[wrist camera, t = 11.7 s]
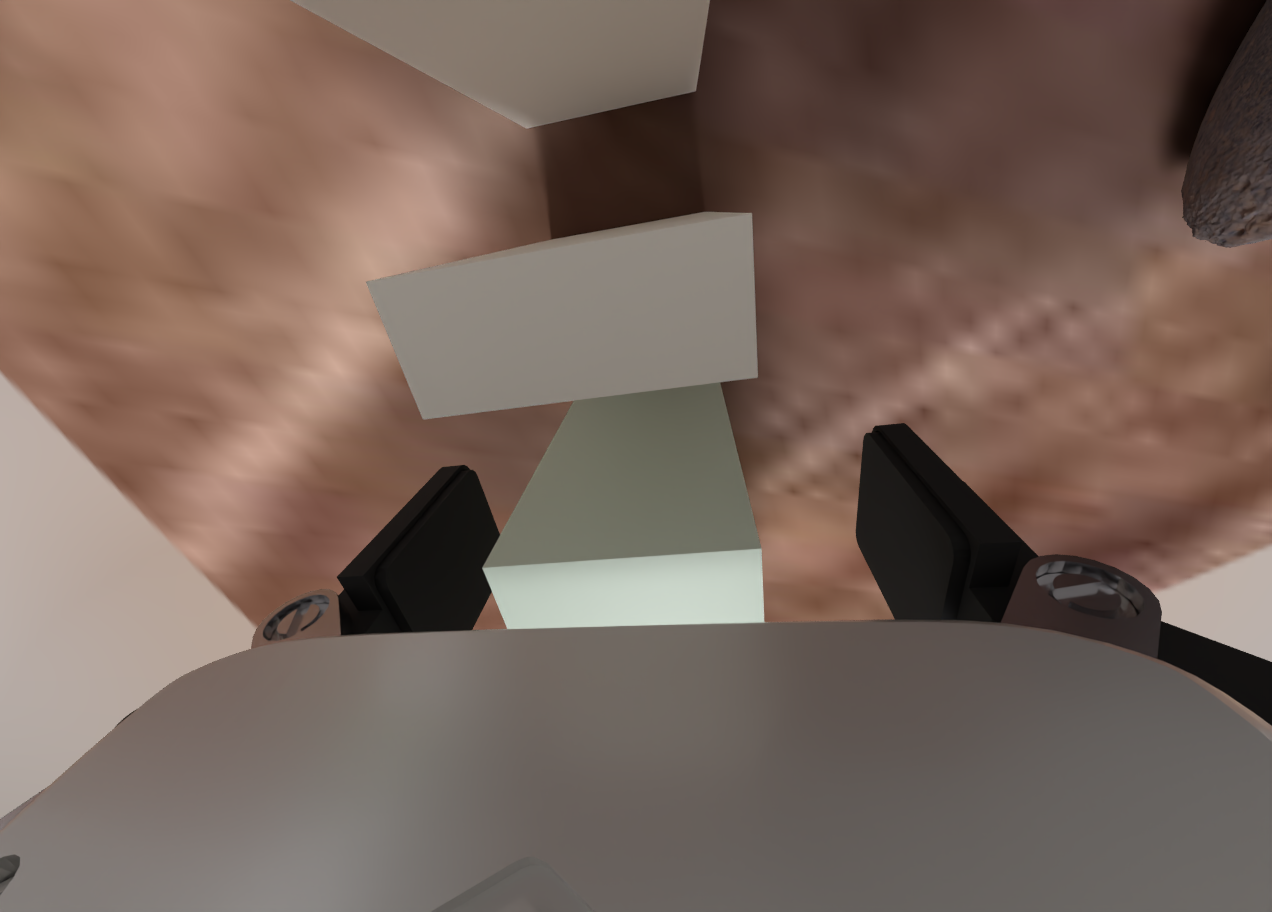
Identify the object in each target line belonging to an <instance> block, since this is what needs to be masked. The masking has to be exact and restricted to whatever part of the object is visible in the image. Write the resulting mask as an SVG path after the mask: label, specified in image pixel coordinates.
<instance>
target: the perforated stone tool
mask: <svg viewBox="0 0 1272 912" xmlns="http://www.w3.org/2000/svg"><path fill="white" fill-rule="evenodd" d="M1181 192H1182V198H1183V215H1184V216H1183V217H1182V218H1184V220H1185V221H1186V222H1187V225H1188V226H1189V227H1190V228H1192V233H1193V235H1192V236H1193V237H1196V238H1197V239H1200V240H1208V241H1209V242H1210V243H1212V244H1217V245H1218V246H1223V247H1229V248H1231V247H1236V246H1240V245H1244V244H1251V243H1256V242H1260V241H1264V240H1269V239H1272V0H1267V1H1266V2H1265V4H1264V6H1263V7H1262V9H1261V10H1260V12H1259V14H1258V15H1257V17H1256V19H1255V21H1254V22H1253V24H1252V26H1251V27H1250V29H1249V31H1248V33H1247V34H1246V36H1245V38H1244V39H1243V41H1242V43H1241V45H1240V46H1239V48H1238V50H1237V52H1236V54H1235V56H1234V58H1233V59H1232V61H1231V63H1230V65H1229V66H1228V68H1227V70H1226V72H1225V74H1224V76H1223V78H1222V80H1221V82H1220V84H1219V86H1218V88H1217V90H1216V92H1215V94H1214V96H1213V98H1212V100H1211V102H1210V105H1209V107H1208V109H1207V112H1206V114H1205V117H1204V119H1203V121H1202V123H1201V126H1200V128H1199V131H1198V134H1197V137H1196V140H1195V142H1194V146H1193V148H1192V151H1191V154H1190V158H1189V161H1188V165H1187V170H1186V175H1185V179H1184V182H1183V186H1182V190H1181ZM1205 242H1206V241H1205Z"/></svg>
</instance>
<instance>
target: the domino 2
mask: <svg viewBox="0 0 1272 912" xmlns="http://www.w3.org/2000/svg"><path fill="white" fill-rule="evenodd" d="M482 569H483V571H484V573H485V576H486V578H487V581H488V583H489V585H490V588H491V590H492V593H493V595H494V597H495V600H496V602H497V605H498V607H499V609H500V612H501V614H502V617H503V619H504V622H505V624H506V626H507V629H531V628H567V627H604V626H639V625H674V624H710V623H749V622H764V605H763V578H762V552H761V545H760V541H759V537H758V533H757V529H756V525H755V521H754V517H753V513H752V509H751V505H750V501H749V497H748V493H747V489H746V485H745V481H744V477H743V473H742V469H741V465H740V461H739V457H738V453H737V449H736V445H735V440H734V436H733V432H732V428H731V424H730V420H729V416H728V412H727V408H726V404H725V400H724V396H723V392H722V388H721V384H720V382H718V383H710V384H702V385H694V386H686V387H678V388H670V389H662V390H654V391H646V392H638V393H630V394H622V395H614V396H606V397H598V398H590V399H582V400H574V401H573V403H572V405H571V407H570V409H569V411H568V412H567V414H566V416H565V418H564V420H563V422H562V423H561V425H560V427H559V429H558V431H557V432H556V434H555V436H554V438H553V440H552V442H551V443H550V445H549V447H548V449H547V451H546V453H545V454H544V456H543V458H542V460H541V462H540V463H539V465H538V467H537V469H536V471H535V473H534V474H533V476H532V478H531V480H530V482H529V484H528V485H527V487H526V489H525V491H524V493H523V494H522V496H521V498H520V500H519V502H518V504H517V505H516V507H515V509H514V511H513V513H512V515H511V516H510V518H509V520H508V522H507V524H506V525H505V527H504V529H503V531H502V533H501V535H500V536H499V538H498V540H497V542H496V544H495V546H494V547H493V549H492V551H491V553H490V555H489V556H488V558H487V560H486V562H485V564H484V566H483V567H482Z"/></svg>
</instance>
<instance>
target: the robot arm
mask: <svg viewBox="0 0 1272 912" xmlns="http://www.w3.org/2000/svg"><path fill="white" fill-rule="evenodd" d="M499 536H500V534H499V531H498V529H497V526H496V523H495V521H494V518H493V515H492V513H491V510H490V508H489V505H488V502H487V500H486V497H485V494H484V492H483V489H482V487H481V484H480V481H479V479H478V476H477V474H476V472H475V471H473V470H470V469H469V468H468V467H467V466H465V465H460V466H450V467H442V468H441V469H439V471H438V472H437V473H436V474H435V475H434V476H433V477H432V478H431V479H430V480H429V481H428V482H427V483H426V484H425V485H424V486H423V487H422V488H421V489H420V490H419V492H418V493H417V494H416V495H415V496H414V497H413V498H412V499H411V500H410V501H409V502H408V503H407V504H406V505H405V506H404V507H403V508H402V509H401V510H400V511H399V512H398V514H397V515H396V516H395V517H394V518H393V519H392V520H391V521H390V522H389V523H388V524H387V525H386V526H385V527H384V528H383V529H382V530H381V531H380V532H379V533H378V535H377V536H376V537H375V538H374V539H373V540H372V541H371V542H370V543H369V544H368V545H367V546H366V547H365V548H364V549H363V550H362V551H361V552H360V553H359V554H358V555H357V557H356V558H355V559H354V560H353V561H352V562H351V563H350V564H349V565H348V566H347V567H346V568H345V569H344V570H343V571H342V572H341V573H340V574H339V575H338V576H337V578H338V580H339V581H340V583H341V585H342V586H343V588H344V590H343V591H342V593H341V594H340V595H339V596H338V595H337V593H336V592H334V591H332V590H330V589H320V590H315V591H310V592H308V593H305V594H302V595H300V596H297V597H295V598H293V599H292V600H290V601H288V602H286V603H284V604H283V605H281V606H280V607H278V608H277V609H276V610H274V611H273V612H272V613H271V614H270V615H268V616H267V617H266V618H265V619H264V620H263V621H262V622H261V624H260V625H259V626H258V628H257V629H256V631H255V634H254V636H253V640H252V646H251V649H249V650H246V651H243V652H239V653H236V654H234V655H231V656H228V657H225V658H222V659H219V660H217V661H214V662H212V663H209V664H207V665H205V666H203V667H200V668H198V669H196V670H194V671H191V672H189V673H187V674H185V675H183V676H181V677H180V678H178V679H176V680H175V681H173V682H172V683H170V684H169V685H167V686H166V687H165V688H163V689H162V690H161V691H159V692H158V693H157V694H155V695H154V696H153V697H152V698H150V699H149V700H148V701H147V702H145V703H144V704H143V705H142V706H141V707H139V708H138V709H136V710H135V711H133V712H132V713H130V714H129V715H128V716H126V717H125V718H124V719H123V720H122V721H121V722H120V723H118V724H117V726H116V727H115V728H114V729H113V730H112V731H110V732H109V733H108V734H107V735H106V736H105V737H104V738H103V739H101V740H100V741H99V742H98V743H97V744H96V745H94V746H93V747H92V748H91V749H90V750H89V751H88V752H86V753H85V754H84V755H83V756H82V757H81V758H80V759H79V760H77V761H76V762H75V763H74V764H73V765H72V766H71V767H70V768H68V769H67V770H66V771H65V772H64V773H63V774H62V775H61V776H60V777H58V778H57V779H56V780H55V781H54V782H53V783H52V784H51V785H49V786H48V787H47V788H45V789H44V790H42V791H41V792H39V793H38V794H36V795H35V796H33V797H32V798H30V799H29V800H27V801H26V802H25V803H23V804H21V805H20V806H19V807H17V808H16V809H14V810H13V811H11V812H10V813H8V814H7V815H5V816H4V817H2V818H1V819H0V912H1272V662H1270V661H1267V660H1265V659H1262V658H1259V657H1256V656H1254V655H1251V654H1249V653H1246V652H1243V651H1240V650H1238V649H1235V648H1232V647H1230V646H1227V645H1224V644H1222V643H1219V642H1216V641H1213V640H1210V639H1208V638H1205V637H1203V636H1200V635H1197V634H1195V633H1192V632H1189V631H1186V630H1183V629H1181V628H1178V627H1176V626H1173V625H1170V624H1168V623H1165V622H1162V621H1161V615H1162V611H1161V607H1160V603H1159V600H1158V599H1157V598H1156V597H1155V595H1154V594H1153V593H1152V592H1151V590H1150V589H1149V588H1147V587H1146V586H1145V585H1143V584H1142V583H1141V582H1139V581H1138V580H1137V579H1135V578H1134V577H1132V576H1130V575H1128V574H1126V573H1124V572H1122V571H1121V570H1119V569H1117V568H1115V567H1112V566H1109V565H1106V564H1104V563H1101V562H1098V561H1095V560H1091V559H1087V558H1082V557H1078V556H1070V555H1058V554H1055V555H1045V556H1038V555H1037V554H1036V553H1035V552H1034V551H1033V550H1032V549H1031V548H1030V547H1029V546H1028V545H1027V544H1026V543H1025V542H1024V541H1023V540H1022V539H1021V538H1020V537H1019V536H1018V535H1017V534H1016V533H1015V532H1014V531H1013V530H1012V529H1011V528H1010V527H1009V526H1008V525H1007V524H1006V523H1005V522H1004V521H1003V520H1002V519H1001V518H1000V517H999V516H998V515H997V514H996V513H995V512H994V511H993V510H992V509H991V508H990V507H989V506H988V505H987V504H986V503H985V502H984V501H983V500H982V499H981V498H980V497H979V496H978V495H977V494H976V493H975V492H974V491H973V490H972V489H971V488H970V487H969V486H968V485H967V484H966V483H965V482H963V481H962V480H961V479H960V478H959V477H958V476H957V475H956V474H955V473H954V472H953V471H952V470H951V469H950V468H949V467H948V466H947V465H946V464H945V463H944V462H943V461H942V460H941V459H940V458H939V457H938V456H937V455H936V454H935V453H934V452H933V451H932V450H931V449H930V448H929V447H928V446H927V445H926V444H925V443H924V442H923V441H922V440H921V439H920V438H919V437H918V436H917V435H916V434H915V433H914V432H913V431H912V430H911V429H910V428H909V427H908V426H907V425H906V424H905V423H901V424H891V425H880V426H875V427H874V428H873V431H872V433H866V434H865V436H864V440H863V451H862V463H861V475H860V487H859V498H858V510H857V522H856V538H857V542H858V545H859V548H860V550H861V552H862V554H863V556H864V558H865V560H866V562H867V564H868V566H869V568H870V570H871V572H872V574H873V576H874V578H875V580H876V582H877V584H878V586H879V588H880V590H881V592H882V594H883V596H884V598H885V600H886V602H887V604H888V606H889V608H890V610H891V612H892V614H893V616H894V618H895V620H838V621H793V622H749V623H710V624H674V625H639V626H604V627H567V628H531V629H494V630H472V629H473V627H474V625H475V623H476V621H477V619H478V617H479V615H480V613H481V611H482V609H483V608H484V606H485V604H486V602H487V600H488V598H489V596H490V594H491V592H492V590H491V588H490V585H489V583H488V581H487V578H486V576H485V573H484V571H483V569H482V567H483V566H484V564H485V562H486V560H487V558H488V556H489V555H490V553H491V551H492V549H493V547H494V546H495V544H496V542H497V540H498V538H499Z"/></svg>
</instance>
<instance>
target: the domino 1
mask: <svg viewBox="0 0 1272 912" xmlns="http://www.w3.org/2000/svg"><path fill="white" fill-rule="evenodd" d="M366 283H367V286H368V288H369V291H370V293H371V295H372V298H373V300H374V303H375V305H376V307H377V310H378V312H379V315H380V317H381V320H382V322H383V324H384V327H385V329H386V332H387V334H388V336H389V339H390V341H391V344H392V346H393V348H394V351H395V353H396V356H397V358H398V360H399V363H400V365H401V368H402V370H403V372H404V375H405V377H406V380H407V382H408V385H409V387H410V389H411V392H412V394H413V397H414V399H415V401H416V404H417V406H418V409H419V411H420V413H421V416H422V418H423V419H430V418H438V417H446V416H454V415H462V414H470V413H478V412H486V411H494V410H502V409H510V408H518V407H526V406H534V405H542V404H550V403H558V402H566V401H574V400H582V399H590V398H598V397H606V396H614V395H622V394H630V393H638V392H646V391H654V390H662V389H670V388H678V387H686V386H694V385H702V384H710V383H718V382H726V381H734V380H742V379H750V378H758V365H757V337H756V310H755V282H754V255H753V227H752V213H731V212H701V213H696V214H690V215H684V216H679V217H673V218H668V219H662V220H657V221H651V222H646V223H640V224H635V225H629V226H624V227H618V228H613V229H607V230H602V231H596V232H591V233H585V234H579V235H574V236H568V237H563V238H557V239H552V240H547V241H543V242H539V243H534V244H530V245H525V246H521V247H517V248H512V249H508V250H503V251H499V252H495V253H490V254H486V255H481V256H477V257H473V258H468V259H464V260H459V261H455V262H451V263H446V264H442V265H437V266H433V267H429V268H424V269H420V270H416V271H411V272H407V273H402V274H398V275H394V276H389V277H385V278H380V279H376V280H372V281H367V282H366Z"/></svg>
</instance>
